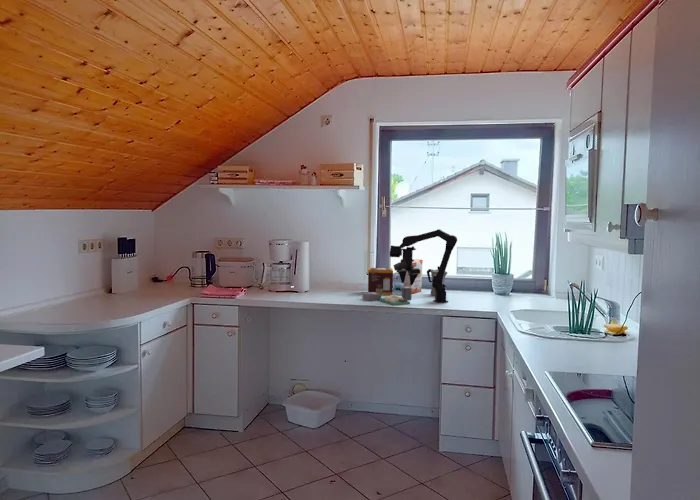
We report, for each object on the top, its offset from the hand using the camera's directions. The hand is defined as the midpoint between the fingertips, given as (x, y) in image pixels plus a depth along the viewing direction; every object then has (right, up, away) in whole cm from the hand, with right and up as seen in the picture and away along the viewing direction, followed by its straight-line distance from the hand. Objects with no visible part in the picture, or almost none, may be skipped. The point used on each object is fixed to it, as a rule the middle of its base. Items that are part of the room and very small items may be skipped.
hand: (406, 284), depth 296 cm
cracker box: (+6, -7, +25) cm, 27 cm away
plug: (0, -9, +1) cm, 9 cm away
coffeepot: (+20, -8, +18) cm, 28 cm away
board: (-8, -10, -8) cm, 15 cm away
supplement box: (-15, -7, +20) cm, 26 cm away
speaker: (-21, -9, 0) cm, 23 cm away
